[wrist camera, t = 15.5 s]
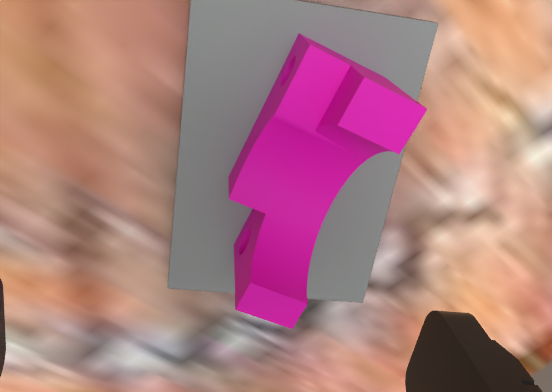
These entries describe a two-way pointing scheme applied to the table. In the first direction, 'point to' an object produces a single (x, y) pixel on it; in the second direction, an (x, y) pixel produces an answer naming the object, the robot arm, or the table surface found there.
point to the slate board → (243, 114)
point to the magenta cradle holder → (306, 168)
